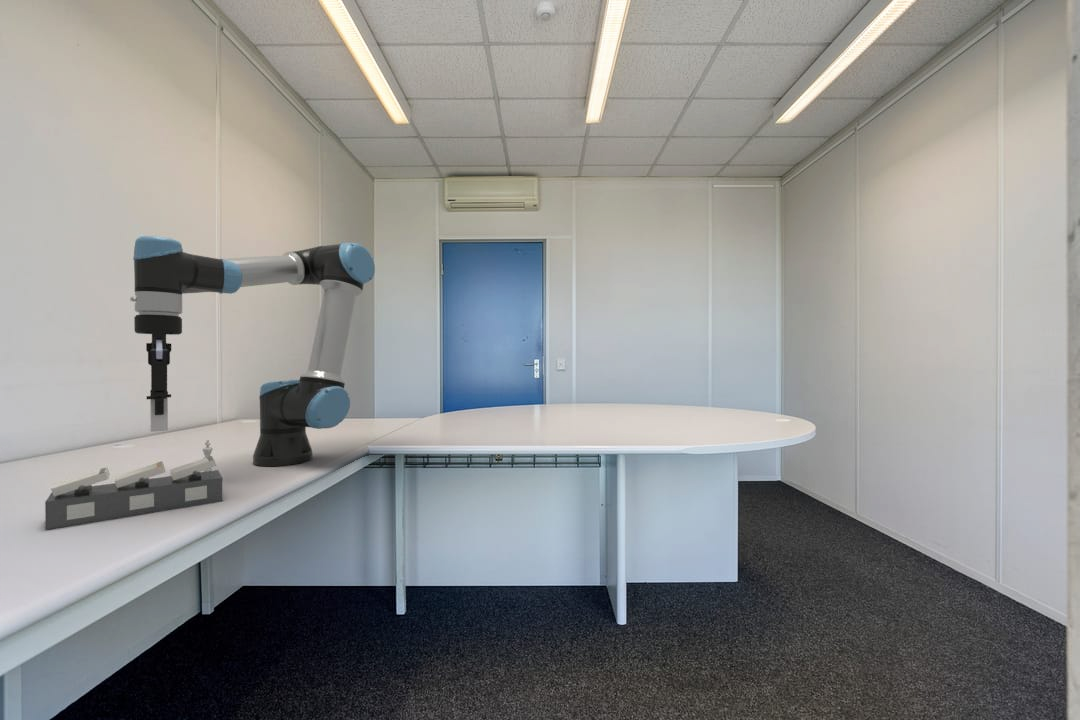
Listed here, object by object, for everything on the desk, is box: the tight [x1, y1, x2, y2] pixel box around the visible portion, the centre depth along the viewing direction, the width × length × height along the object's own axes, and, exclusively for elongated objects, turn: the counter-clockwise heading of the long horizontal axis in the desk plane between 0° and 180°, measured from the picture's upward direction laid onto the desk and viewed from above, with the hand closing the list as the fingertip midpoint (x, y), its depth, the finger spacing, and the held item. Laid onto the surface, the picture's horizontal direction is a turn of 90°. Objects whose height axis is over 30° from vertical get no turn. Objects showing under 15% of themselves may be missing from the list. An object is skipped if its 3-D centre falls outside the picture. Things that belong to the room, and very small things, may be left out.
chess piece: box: [202, 439, 213, 472], centre depth 114 cm, size 5×5×10 cm
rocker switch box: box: [44, 469, 223, 531], centre depth 94 cm, size 26×8×6 cm, turn 130°
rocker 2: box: [114, 461, 166, 488], centre depth 94 cm, size 8×4×2 cm, turn 129°
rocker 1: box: [50, 467, 111, 496], centre depth 89 cm, size 8×4×2 cm, turn 129°
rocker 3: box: [169, 455, 217, 481], centre depth 100 cm, size 8×4×2 cm, turn 129°
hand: (159, 430), depth 96 cm, fingers closed
